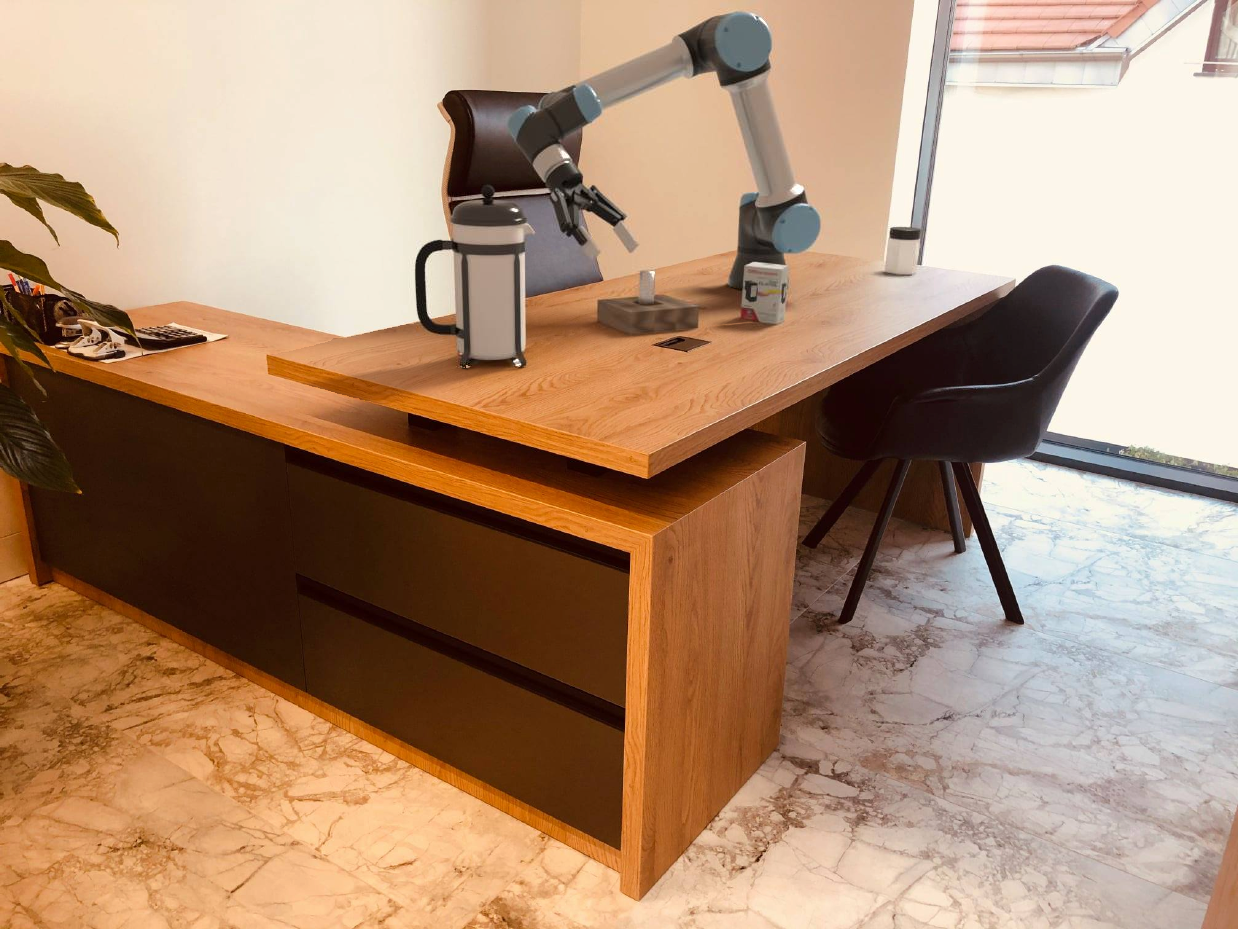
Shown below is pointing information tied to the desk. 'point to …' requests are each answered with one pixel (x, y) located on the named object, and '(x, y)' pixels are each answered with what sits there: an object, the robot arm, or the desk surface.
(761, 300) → the ink box
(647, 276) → the silver rounded cylinder
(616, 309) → the hole block
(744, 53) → the robot arm
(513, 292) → the coffee press
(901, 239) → the jar
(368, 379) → the desk surface
